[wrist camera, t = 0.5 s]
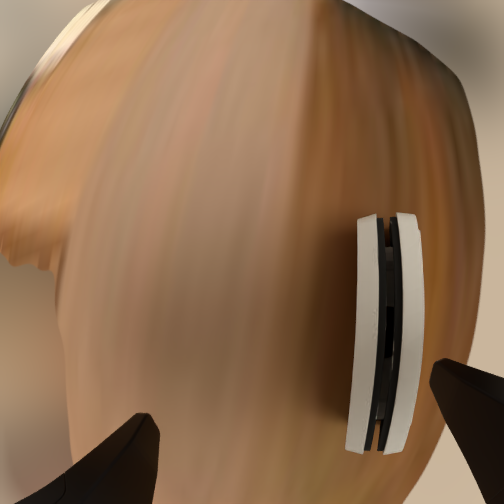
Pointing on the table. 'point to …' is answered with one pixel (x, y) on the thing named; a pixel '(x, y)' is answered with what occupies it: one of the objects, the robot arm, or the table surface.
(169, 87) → the table surface
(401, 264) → the white rounded piece
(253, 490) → the table surface
